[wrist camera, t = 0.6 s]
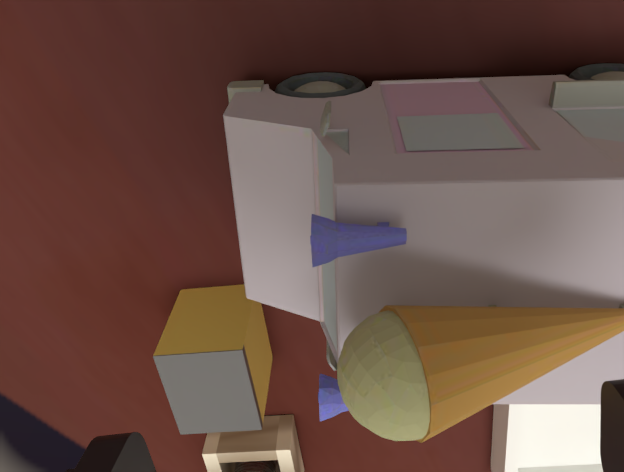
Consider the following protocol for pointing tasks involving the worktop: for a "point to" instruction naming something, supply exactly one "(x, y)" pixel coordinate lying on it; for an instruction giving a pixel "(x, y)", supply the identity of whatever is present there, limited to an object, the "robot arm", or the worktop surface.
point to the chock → (215, 360)
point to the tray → (546, 438)
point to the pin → (256, 466)
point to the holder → (255, 446)
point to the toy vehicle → (439, 236)
